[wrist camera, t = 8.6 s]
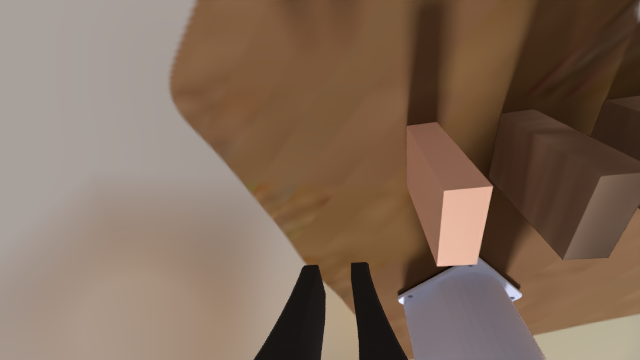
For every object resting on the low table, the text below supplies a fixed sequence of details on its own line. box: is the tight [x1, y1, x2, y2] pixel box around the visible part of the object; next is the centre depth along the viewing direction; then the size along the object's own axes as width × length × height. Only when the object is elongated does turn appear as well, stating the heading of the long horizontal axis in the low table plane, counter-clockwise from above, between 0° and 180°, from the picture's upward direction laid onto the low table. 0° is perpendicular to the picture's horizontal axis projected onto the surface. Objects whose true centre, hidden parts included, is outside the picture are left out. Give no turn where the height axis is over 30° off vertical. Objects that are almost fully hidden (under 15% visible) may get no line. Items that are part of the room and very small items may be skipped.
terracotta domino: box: [407, 122, 493, 266], centre depth 16 cm, size 2×5×8 cm, turn 10°
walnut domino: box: [489, 109, 640, 260], centre depth 15 cm, size 2×5×8 cm, turn 10°
